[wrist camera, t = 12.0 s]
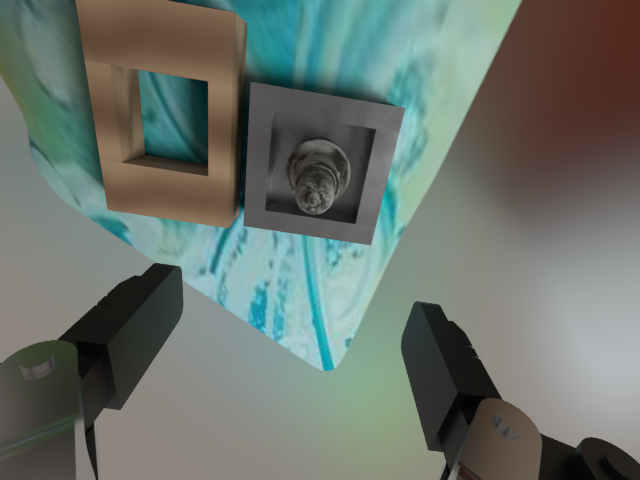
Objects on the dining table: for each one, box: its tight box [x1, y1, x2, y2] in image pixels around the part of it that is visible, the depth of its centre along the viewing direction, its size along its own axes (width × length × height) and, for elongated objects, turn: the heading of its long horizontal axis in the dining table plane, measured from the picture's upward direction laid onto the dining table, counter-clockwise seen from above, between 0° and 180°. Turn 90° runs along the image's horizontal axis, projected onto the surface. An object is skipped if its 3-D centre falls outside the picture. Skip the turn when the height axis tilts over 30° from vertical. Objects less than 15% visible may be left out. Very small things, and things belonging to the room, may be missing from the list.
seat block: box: [244, 82, 405, 245], centre depth 30 cm, size 13×13×4 cm
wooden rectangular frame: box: [75, 0, 247, 228], centre depth 29 cm, size 18×12×4 cm, turn 171°
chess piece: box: [286, 138, 351, 215], centre depth 26 cm, size 6×6×12 cm
